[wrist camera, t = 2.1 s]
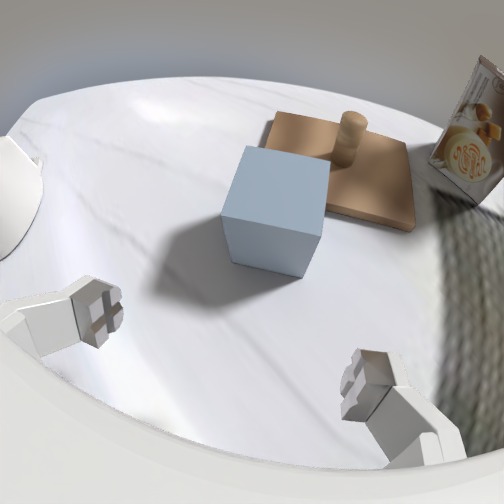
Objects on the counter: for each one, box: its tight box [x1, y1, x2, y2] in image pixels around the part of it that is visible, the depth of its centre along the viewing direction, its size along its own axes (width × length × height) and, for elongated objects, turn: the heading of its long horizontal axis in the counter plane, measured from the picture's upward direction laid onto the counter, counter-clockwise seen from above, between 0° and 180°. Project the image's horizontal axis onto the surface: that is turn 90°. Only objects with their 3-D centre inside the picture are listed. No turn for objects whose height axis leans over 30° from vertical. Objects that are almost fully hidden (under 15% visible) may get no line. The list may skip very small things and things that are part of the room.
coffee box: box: [429, 55, 504, 204], centre depth 20 cm, size 9×6×16 cm
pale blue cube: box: [220, 146, 331, 278], centre depth 20 cm, size 6×6×8 cm
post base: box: [265, 111, 415, 232], centre depth 24 cm, size 16×12×7 cm
